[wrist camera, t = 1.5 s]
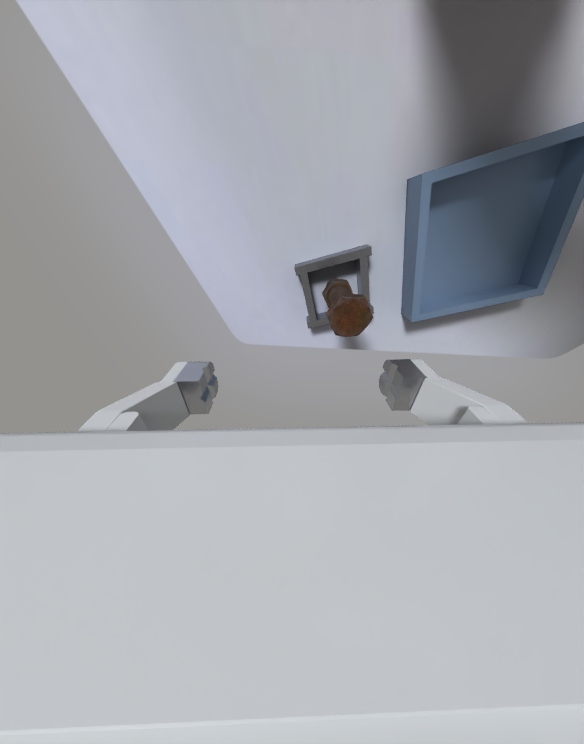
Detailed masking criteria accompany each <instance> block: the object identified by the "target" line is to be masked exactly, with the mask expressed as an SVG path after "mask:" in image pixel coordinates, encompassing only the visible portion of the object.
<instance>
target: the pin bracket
mask: <svg viewBox="0 0 584 744" xmlns="http://www.w3.org/2000/svg"><path fill="white" fill-rule="evenodd" d="M370 255H372V253H371V246H369V245H363V246H359V247H356V248H352V249H349V250H345V251H342V252H338V253H334V254H331V255H327V256H324V257H320V258H317V259H313V260H309V261H306V262H302V263H299V264H295V272H296V276H297V275H300V277H301V282H302V286H303V291H304V295H305V300H306V305H307V309H308V314H309V316H307V324H308V328H312V327H317V326H321V325H326V324H330V323H329V321H328V318H327V316H326V313H327V312H324V313H320V314H316V315H315V309H314V304H313V299H312V294H311V289H310V284H309V279H308V274H307V273H308V272H311V271H315V270H319V269H322V268H326V267H330V266H333V265H337V264H341V263H344V262H348V261H352V260H355V259H356V270H357V284H358V294H363V295H364V296H365V297H366V299H367V301H368V304H369V307H370V309H371V312H372V314H374V312H373V306H372V305H371V304H370V300H369V277H368V256H370Z"/></svg>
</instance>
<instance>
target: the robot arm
mask: <svg viewBox="0 0 584 744" xmlns="http://www.w3.org/2000/svg"><path fill="white" fill-rule="evenodd" d="M383 369H384V371H385V372H384V373H382V374H381V376H380V379H379V388H380V391H381V393H382V394H383V395H385V396H386V397H387V398H386V401H387V403H388V405H389V406H390V408H391V410H410V412H412V413H413V414H414V415H416V416H417V417H418V418H420V419H421V420H422V421H424V422H425V423H426V424H428V425H421V426H420V425H419V426H370V427H369V426H366V427H316V428H265V429H264V428H261V429H209V430H208V429H207V430H173V429H174V428H175V427H177V426H178V425H179V424H180V423H181V422H182V421H184V420H185V419H186V418H187V417H188V416H189V414H208V413H209V411H210V409H211V407H212V404H213V401H212V399H213V398H214V397H216V394H217V392H218V381H217V377H215V376H214V375H213V372H214V370H215V369H214V366H213V363H212V362H177V363H176V364H175V365H174V366H173V367H172V369H171V370H170V371H169V372H168V374H167V375H166V376H165V377H164V379H163V380H162V381H161V382H156V383H154V384H152V385H150V386H148V387H146V388H144V389H142V390H140V391H138V392H136V393H134V394H132V395H130V396H128V397H126V398H124V399H122V400H120V401H118V402H116V403H113V404H111V405H109V406H108V407H105V408H103V409H101V410H99V411H97V412H96V413H95V414H94V415H93V416H92V417H91V418H90V419H89V420H88V421H87V422H86V423H85V424H84V425H83V426H82V427H81V428H80V429H79V430H78V431H77V432H46V433H0V744H584V422H578V423H577V422H576V423H531V424H530V423H528V422H527V421H526V420H525V419H524V418H522V417H521V416H520V415H519V414H517V413H516V412H515V411H514V410H513V409H511V408H510V407H509V406H508V405H506V404H504V403H501V402H499V401H497V400H494V399H492V398H489V397H487V396H485V395H482V394H480V393H478V392H475V391H473V390H471V389H468V388H466V387H464V386H461V385H458V384H456V383H454V382H452V381H449V380H447V379H445V378H440V377H439V376H438V375H437V374H436V373H434V372H433V371H432V370H431V369H430V368H429V367H428V366H427V365H426V364H425V363H424V362H423V361H422V360H421V359H400V360H386V361H385V362H384V365H383Z"/></svg>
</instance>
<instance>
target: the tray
mask: <svg viewBox="0 0 584 744" xmlns="http://www.w3.org/2000/svg"><path fill="white" fill-rule="evenodd" d="M583 198H584V122H582V123H579V124H576V125H573V126H570V127H567V128H564V129H561V130H558V131H554V132H551V133H548V134H545V135H542V136H539V137H536V138H533V139H529V140H526V141H523V142H520V143H517V144H514V145H511V146H508V147H505V148H501V149H498V150H495V151H492V152H489V153H486V154H483V155H480V156H477V157H473V158H470V159H467V160H464V161H461V162H458V163H455V164H452V165H448V166H445V167H442V168H439V169H436V170H433V171H430V172H427V173H424V174H421V175H418V176H415V177H413V178H410V179H408V180H407V197H406V219H405V242H404V264H403V286H402V309H401V314H402V315H404V316H405V317H406V318H407V319H408V320H409V321H410V322H411V323H412V322H416V321H421V320H426V319H430V318H435V317H440V316H444V315H449V314H454V313H458V312H463V311H468V310H472V309H477V308H482V307H486V306H491V305H496V304H500V303H505V302H510V301H514V300H519V299H524V298H528V297H533V296H538V295H542V294H543V293H544V290H545V288H546V286H547V283H548V281H549V278H550V276H551V274H552V271H553V269H554V266H555V264H556V262H557V259H558V257H559V255H560V252H561V250H562V247H563V245H564V243H565V240H566V238H567V236H568V233H569V231H570V228H571V226H572V224H573V221H574V219H575V217H576V214H577V212H578V209H579V207H580V205H581V202H582V200H583Z"/></svg>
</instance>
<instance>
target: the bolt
mask: <svg viewBox="0 0 584 744" xmlns="http://www.w3.org/2000/svg"><path fill="white" fill-rule="evenodd" d="M322 294H323V297H324V299H325V301H326V303H327V305H328V307H329V308H330V309H329V310H328V311H327V313H326V316H327V318H328V321H329V323H330V325H331V327H332V329H333V331H334V333H335V335H338V336H344V337H351V336H357V335H359V334H360V333H361V332H362V331H363V330H364V329H365V328H366V327H367V326H368V325H369V323H370V322H371V320H372V318H373V316H372V312H371V309H370V307H369V304H368V301H367V299H366V297H365V296H364V295H363V294H353V293H352V290H351V287H350V285H349V283H348V281H347V280H343V279H332V280H330V281H329V282H328V283H327V285H326V288H325V289H324V291H323V293H322Z"/></svg>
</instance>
